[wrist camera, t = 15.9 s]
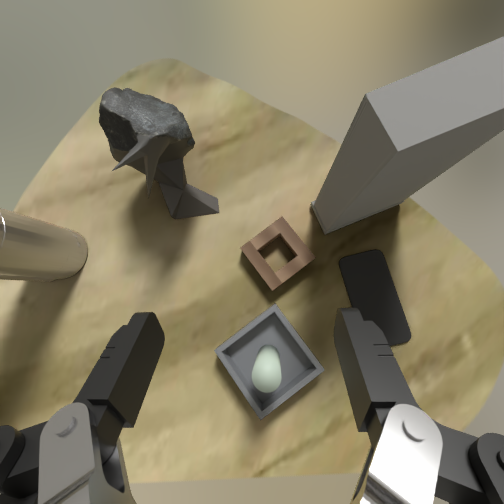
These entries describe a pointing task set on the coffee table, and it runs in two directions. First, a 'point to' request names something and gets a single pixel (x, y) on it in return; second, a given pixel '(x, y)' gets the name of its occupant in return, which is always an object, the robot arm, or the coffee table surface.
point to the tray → (291, 359)
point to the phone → (375, 294)
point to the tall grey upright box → (413, 135)
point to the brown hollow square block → (293, 244)
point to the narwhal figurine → (154, 147)
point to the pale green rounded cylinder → (267, 369)
